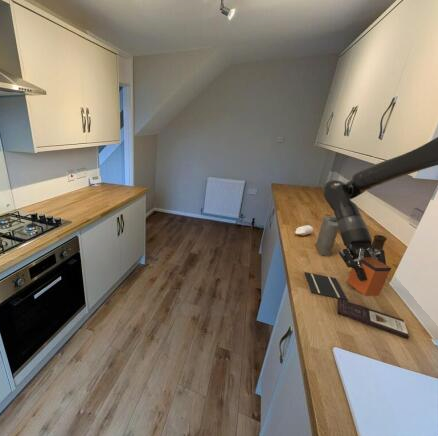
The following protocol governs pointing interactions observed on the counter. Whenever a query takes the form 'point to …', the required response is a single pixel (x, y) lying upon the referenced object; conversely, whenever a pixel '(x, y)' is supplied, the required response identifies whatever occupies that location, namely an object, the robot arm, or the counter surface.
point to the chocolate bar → (372, 318)
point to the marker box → (370, 277)
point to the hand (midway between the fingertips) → (371, 280)
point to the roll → (304, 230)
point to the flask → (327, 235)
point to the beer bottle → (378, 243)
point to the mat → (325, 286)
